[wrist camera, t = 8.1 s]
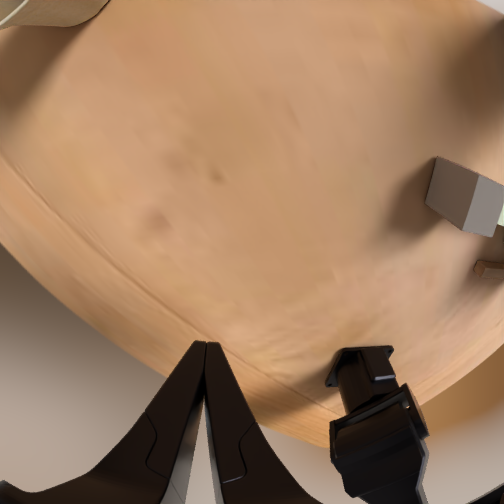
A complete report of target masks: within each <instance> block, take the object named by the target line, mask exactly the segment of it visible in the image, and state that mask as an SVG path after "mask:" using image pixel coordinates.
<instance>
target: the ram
mask: <svg viewBox="0 0 504 504" xmlns="http://www.w3.org/2000/svg"><path fill="white" fill-rule="evenodd" d="M425 204H426V205H427V206H429V207H430V208H432V209H433V210H434V211H436V212H437V213H439V214H440V215H441V216H443V217H444V218H446V219H447V220H448V221H450V222H451V223H452V224H454V225H455V226H456V227H457V228H459V229H460V230H461V231H465V232H469V233H474V234H478V235H483V236H487V237H491V238H492V237H493V234H494V231H495V229H496V226H497V224H499V225H502V226H504V186H503V185H501V184H499V183H497V182H495V181H493V180H491V179H489V178H487V177H485V176H483V175H481V174H479V173H477V172H475V171H473V170H471V169H468V168H466V167H464V166H461V165H459V164H456V163H454V162H451V161H448V160H446V159H443V158H441V157H438V156H437V159H436V163H435V167H434V171H433V175H432V179H431V183H430V186H429V190H428V194H427V197H426V201H425ZM503 244H504V243H503Z"/></svg>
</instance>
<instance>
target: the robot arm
mask: <svg viewBox="0 0 504 504" xmlns="http://www.w3.org/2000/svg"><path fill="white" fill-rule="evenodd" d="M393 351H394V348H393V346H377V347H359V348H344V349H343V350H341V352H340V354H339V356H338V358H337V360H336V362H335V364H334V366H333V368H332V370H331V372H330V374H329V376H328V378H327V380H326V382H325V385H326V387H338V388H339V391H340V394H341V398H342V401H343V405H344V408H345V412H346V416H344V417H342V418H339V419H337V420H333V421H331V422H330V429H329V435H330V458H331V463H332V464H334V466H335V468H336V469H337V471H338V472H339V473H340V474H341V476H342V479H343V484H344V489H345V492H346V493H347V494H348V495H349V496H350V497H352V498H355V497H359V498H360V499H362V500H363V501H365V502H366V503H368V504H428V501H427V498H426V495H425V492H424V489H423V486H422V481H423V478H424V474H425V470H426V466H427V462H428V457H429V451H428V449H427V446H426V443H425V441H424V439H425V438H426V437H428V436H429V432H428V429H427V426H426V422H425V419H424V416H423V414H422V411H421V409H420V406H419V404H418V402H417V400H416V398H415V396H414V394H413V393H412V391H411V389H410V388H409V386H408V385H407V383H405V384H403V385H402V386H401V387H399V385H398V383H397V381H396V378H395V377H396V374H395V372H394V370H393V368H392V366H391V364H390V361H389V357H390V356H391V354H392V353H393ZM203 402H204V405H205V417H206V427H207V437H208V446H209V455H210V463H211V471H212V479H213V485H214V492H215V500H216V504H322V503H321V502H319V501H318V500H316V499H315V498H313V497H311V496H310V495H309V494H308V493H307V492H306V491H305V490H304V489H303V488H302V487H301V486H300V485H299V484H298V483H297V481H296V480H295V479H294V478H293V476H292V475H291V474H290V473H289V471H288V470H287V469H286V467H285V466H284V465H283V463H282V462H281V461H280V459H279V458H278V457H277V455H276V454H275V452H274V451H273V449H272V448H271V447H270V445H269V444H268V442H267V440H266V438H265V437H264V435H263V433H262V431H261V429H260V427H259V425H258V423H257V422H256V420H255V418H254V416H253V414H252V412H251V409H250V407H249V405H248V403H247V401H246V399H245V397H244V395H243V393H242V391H241V389H240V387H239V384H238V382H237V380H236V378H235V376H234V374H233V372H232V369H231V367H230V365H229V363H228V361H227V358H226V356H225V354H224V352H223V349H222V347H221V345H220V343H219V342H207V343H206V341H198V340H195V341H194V342H193V343H192V344H191V346H190V347H189V349H188V350H187V352H186V353H185V354H184V356H183V357H182V359H181V360H180V361H179V363H178V364H177V366H176V367H175V368H174V370H173V371H172V373H171V374H170V375H169V377H168V378H167V380H166V381H165V383H164V384H163V385H162V387H161V388H160V390H159V391H158V392H157V394H156V395H155V397H154V398H153V400H152V401H151V402H150V404H149V405H148V406H147V408H146V409H145V412H143V413H142V415H141V416H140V417H139V419H138V420H137V422H136V423H135V424H134V425H133V427H132V428H131V429H130V431H129V432H128V433H127V434H126V435H125V436H124V437H123V438H122V439H121V441H120V442H119V443H118V444H117V445H116V446H115V447H114V448H113V449H112V450H111V451H110V452H109V453H108V454H107V455H106V456H105V457H104V458H103V459H102V460H101V461H100V462H99V463H98V464H97V465H96V466H95V467H94V468H93V469H91V470H90V471H89V472H87V473H86V474H84V475H82V476H80V477H77V478H75V479H73V480H70V481H68V482H65V483H63V484H60V485H57V486H55V487H52V488H49V489H46V490H44V491H40V492H33V493H30V492H25V491H22V490H20V489H19V488H17V487H15V486H13V485H12V484H9V483H8V482H6V481H5V480H2V481H0V504H185V500H186V494H187V488H188V483H189V477H190V472H191V466H192V461H193V456H194V450H195V445H196V440H197V434H198V429H199V424H200V419H201V413H202V408H203ZM408 406H410V407H409V408H406V407H408ZM467 504H504V483H502V484H501V485H499V486H497V487H496V488H494V489H492V490H491V491H489V492H487V493H486V494H484V495H482V496H480V497H478V498H476V499H474V500H472V501H470V502H468V503H467Z"/></svg>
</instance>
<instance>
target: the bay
mask: <svg viewBox="0 0 504 504" xmlns="http://www.w3.org/2000/svg"><path fill="white" fill-rule="evenodd" d="M474 271H475V272H476V273H477V274H478V275H479V276H480V277H481V278H495V279H504V264H503V263H495V262H487V261H480V260H478V261H477V263H476V265H475V268H474Z"/></svg>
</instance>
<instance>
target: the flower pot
mask: <svg viewBox="0 0 504 504" xmlns="http://www.w3.org/2000/svg"><path fill="white" fill-rule="evenodd" d="M108 1H109V0H0V30H1V29H5V28H8V27H10V26H14V25H42V26H59V27H70V26H75V25H78V24H80V23H83V22H85V21H87V20H88V19H90V18H92V17H93V16H95V15H96V14H97V13H98V12H99V10H100V9H101V8H102V7H103V6H104V5H105V4H106V3H107V2H108Z"/></svg>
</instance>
